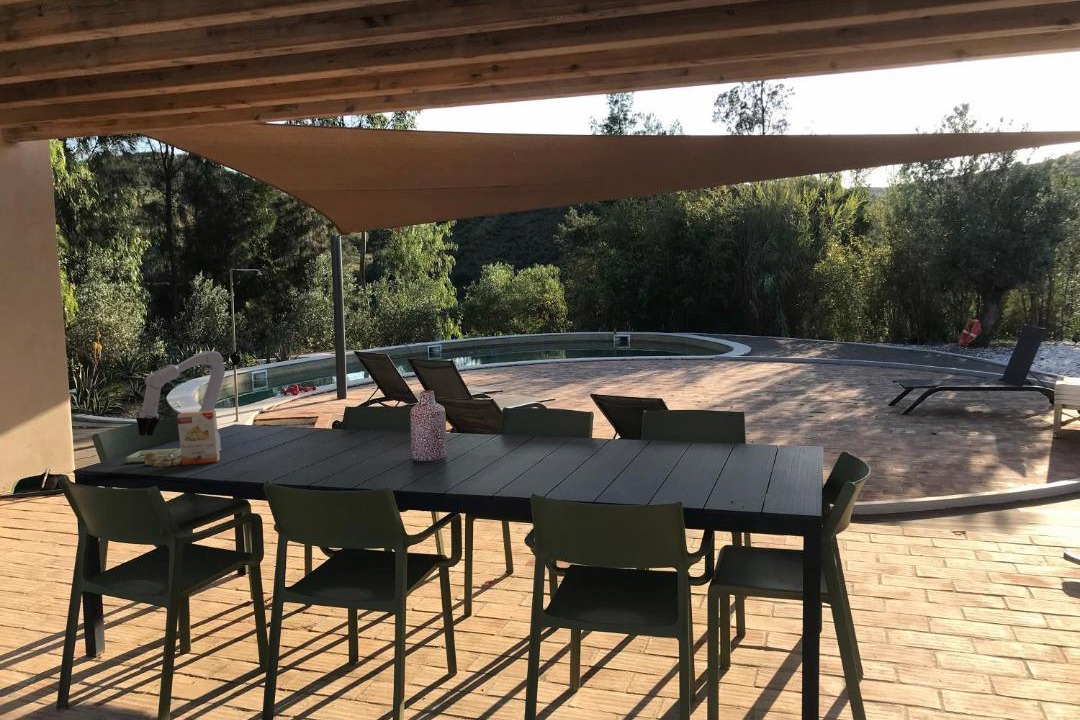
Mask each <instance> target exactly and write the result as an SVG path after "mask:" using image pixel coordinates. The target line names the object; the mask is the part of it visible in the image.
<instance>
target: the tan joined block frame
mask: <svg viewBox="0 0 1080 720" xmlns="http://www.w3.org/2000/svg"><path fill="white" fill-rule="evenodd" d="M144 460H145V463H144V465H145V464H153V465H152V467H153V466H157V465H159V466H157V467H163V466H162V465H170V466H172V465H175V466H177V465H178V463H179V464H180V463H182V462H181V461H182V459H181V456H180V457H177V458H173V461H172V464H171V461H169V462H168V460H167V458H166V459H165V458H161V459H159V460H158V454H157V452H147V453H144ZM165 460H166V461H165ZM164 461H165V462H164ZM176 464H177V465H176Z"/></svg>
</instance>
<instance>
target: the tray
mask: <svg viewBox="0 0 1080 720" xmlns="http://www.w3.org/2000/svg"><path fill="white" fill-rule="evenodd" d="M171 451H173V454H172V457H173V458H177V457H178V456H180V455H181V449H180V447H179V448H168V449H167V448H164V449H151V450H150V449H149V450H139V451H137V452H134V453H131V455H128V456H126V457H125V458H124V459H125V463H126V462H129V461H145V460H144V456H140V455H144V453H147V452H157V454H158V460H159V459H161V458H165V459H166V458H167V456H166V453H168V452H171ZM138 456H140V457H138ZM180 457H181V456H180ZM178 458H179V457H178ZM165 462H166V460H165Z"/></svg>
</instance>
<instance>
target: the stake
mask: <svg viewBox="0 0 1080 720" xmlns="http://www.w3.org/2000/svg"><path fill="white" fill-rule="evenodd" d="M172 454H173V451H171V452H168V453H166V456H167V460H168V462H169V461H171V463H172V461H173V457H172Z"/></svg>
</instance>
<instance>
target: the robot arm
mask: <svg viewBox="0 0 1080 720" xmlns="http://www.w3.org/2000/svg"><path fill="white" fill-rule="evenodd" d="M196 365H202V366H203V367H205V368H207V370H208V371H209V373H210V376H209V379H208V384H207V387H206V390H205V394H204V396H203V397H204V398H203V399H202V404H201V406H200V409H199V410H198V411H197V412H201V411H215V408H216V405H217V402H218V398H219V395H220V391H221V387H222V385H223V380H224V377H225V373H226V372H225V366H224V358H223V356H222V355H221V353H220V352H219V351H215V350H214V351H211V350H203V351H201V352H198V353H196V354H195V355H193V356H191V357H189V358H187V359H186V360H184V361H182V362H180V363H178V364H177V365H175V364H167V365H165V367H164V368H162V369H160V370H156V371H155V373H151V374H150V373H149V374H148V375H147V376H146V378H145V379H144V384H145V385H146V386H145V392H144V398H143V403H142V408H141V409H142V411H139V412H138V414H139V416H138V417H137V416H136V417H135V420H136V422H137V427H138V435H139V436H143V437H145V436H150V437H151V436H153V435H154V432H155V430H156V428H157V426H158V424H160V422H161V419H160V418H159V413H158V410H159V402H160V398H161V390H162V388H163V387H164V386H165V384H167V383H169V382H172V380H174V379H176V378H178V377H180V374H181V373H182V372H184V371H185V370H188V369H191V368H193V367H194V366H196ZM218 441H219V452H221V451H222V446H221V445H222V444H221V435H220V432H219V431H218Z"/></svg>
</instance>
